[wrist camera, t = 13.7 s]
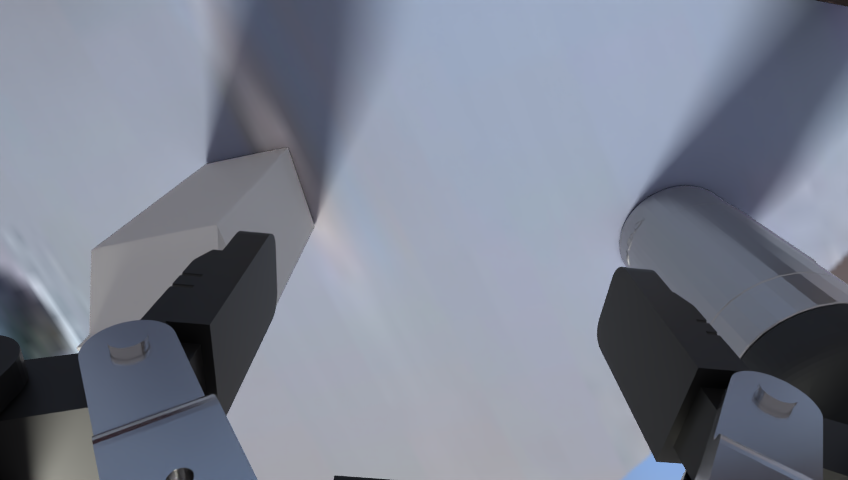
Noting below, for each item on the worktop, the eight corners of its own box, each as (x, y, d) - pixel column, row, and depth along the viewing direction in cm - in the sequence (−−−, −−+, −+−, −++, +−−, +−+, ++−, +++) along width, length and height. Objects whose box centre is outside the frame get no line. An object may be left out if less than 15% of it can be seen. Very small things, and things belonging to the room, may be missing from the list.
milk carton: (204, 163, 40) (37, 288, 22) (289, 146, 39) (182, 261, 22) (237, 241, 43) (111, 403, 26) (315, 226, 42) (240, 382, 25)
